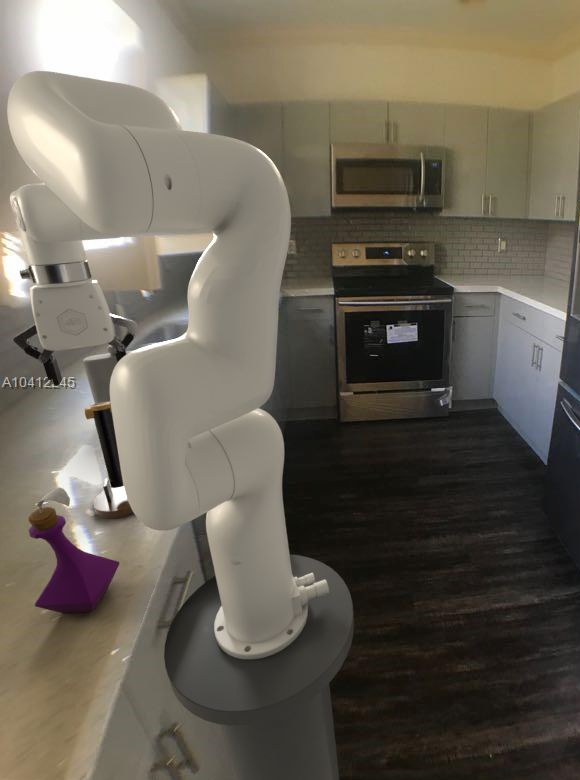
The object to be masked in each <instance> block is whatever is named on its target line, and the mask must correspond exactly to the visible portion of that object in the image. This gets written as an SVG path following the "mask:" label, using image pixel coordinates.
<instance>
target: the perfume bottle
mask: <svg viewBox="0 0 580 780" xmlns="http://www.w3.org/2000/svg"><path fill="white" fill-rule="evenodd" d="M45 501H54V502H57V503H59V504H62V505H64V506H67V507H70V502H71V498H70V496H69V494H68V492H67V491H66V489H64V488H63V487H60V486H59V487H55V488H53V489H52V490H50V491H49V492H47V493H46V494H44V495H43V496H42V497H41V498H40V500H39V501H38V502H37V503H36V506H37V507H38V508H37V509H36V510H34V511H32V512H31V514H30V515H29V516H28V518H27V520H28V522H29V524H30V525H31V526H30V527H29V528H28V534H29V537H30V538H32V539H37V540H38V539H40V540H41V539H42V540H43V541H46V543H47V544H48V545H49V546H50V547H51V549H52V550H53V552H54V554H55V558H56V566H55V568H54V569H53V573H52V574H51V577H50V578H49V580H48V582H47V583H46V585H45V587H44V589H43V590H42V592H41V593H40V595H39V596H38V598H37V599H36V601H35V603H34V607H36V608H39V609H44V610H48V611H52V612H56V613H61V614H74V613H75V614H77V613H91V612H93V611H94V610H95V609H96V607H97V606H98V604H99V602H100V601H101V600H102V598H103V597H104V595H105V594H106V592H107V591H108V589H109V588H110V585H111V583H112V581H113V579H114V576H115V574H116V573H117V571H118V569H119V566H120V561H118V560H115V559H111V558H107V557H103V556H101V555H96V554H93V553H90V552H86V551H84V550H82V549H80V548H78V547H77V546H76V545H75V544H74V543H72V542H71V541H70V540H69V538H68V537H67V536H66V535H65V533H64V531H63V528H64V527H65V525H66V524H67V521H66V518H65V516H62V515H59V514H57V510H56V508H54V507H52V506H46V507H43V504H44V502H45Z"/></svg>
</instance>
